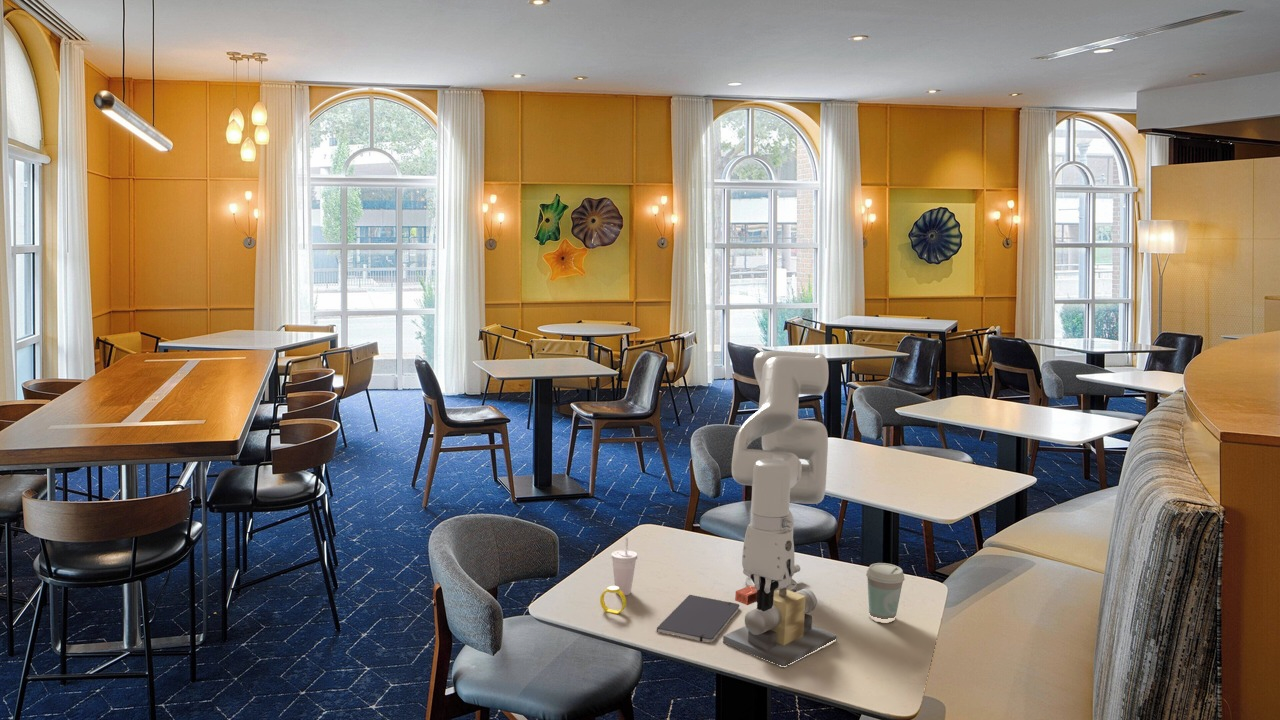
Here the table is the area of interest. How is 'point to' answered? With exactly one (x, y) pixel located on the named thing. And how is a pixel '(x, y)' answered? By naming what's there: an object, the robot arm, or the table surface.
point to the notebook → (699, 618)
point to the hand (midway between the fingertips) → (764, 608)
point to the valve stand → (781, 629)
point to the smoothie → (624, 568)
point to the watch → (613, 590)
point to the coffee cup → (884, 589)
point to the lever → (749, 594)
